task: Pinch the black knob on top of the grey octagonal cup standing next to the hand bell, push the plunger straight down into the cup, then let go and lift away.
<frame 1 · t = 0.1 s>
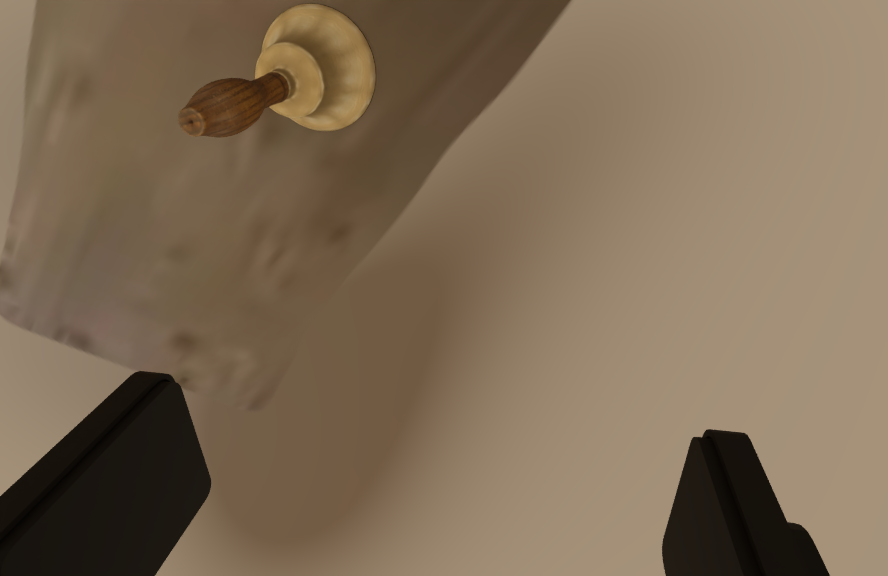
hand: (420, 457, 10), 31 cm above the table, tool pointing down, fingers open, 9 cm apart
hand bell: (320, 70, 38), on the table
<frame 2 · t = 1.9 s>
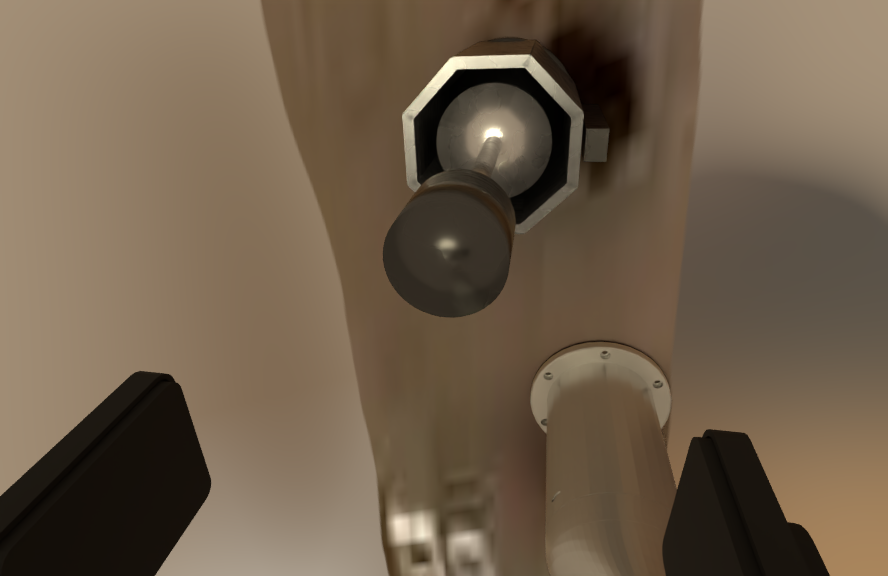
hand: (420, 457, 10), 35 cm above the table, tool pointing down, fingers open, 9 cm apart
grey octagonal cup: (506, 111, 40), on the table
plunger: (476, 184, 24), point 18 cm above the table, slide at 0.0 cm
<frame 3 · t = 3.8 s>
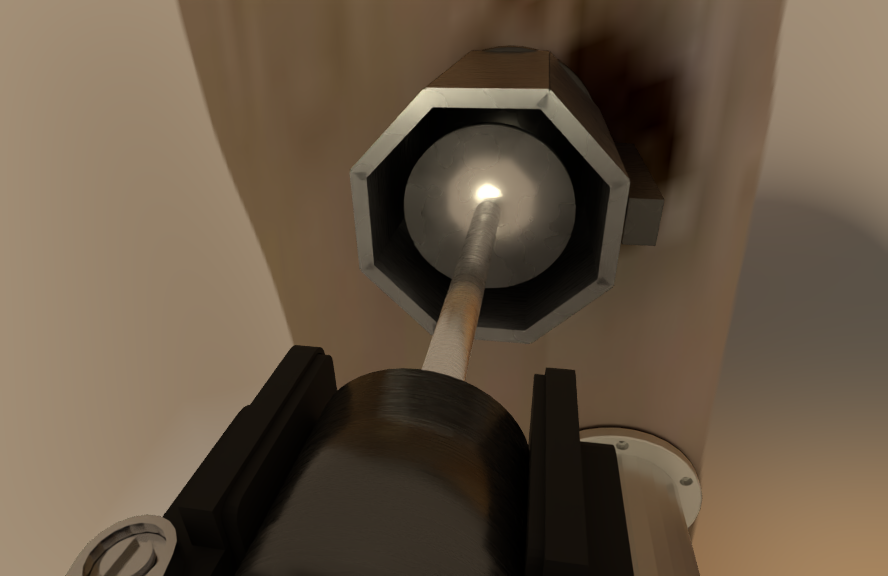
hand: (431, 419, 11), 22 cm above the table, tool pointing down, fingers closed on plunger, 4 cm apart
grey octagonal cup: (506, 143, 30), on the table
plunger: (458, 318, 14), point 18 cm above the table, slide at 0.0 cm, touching gripper
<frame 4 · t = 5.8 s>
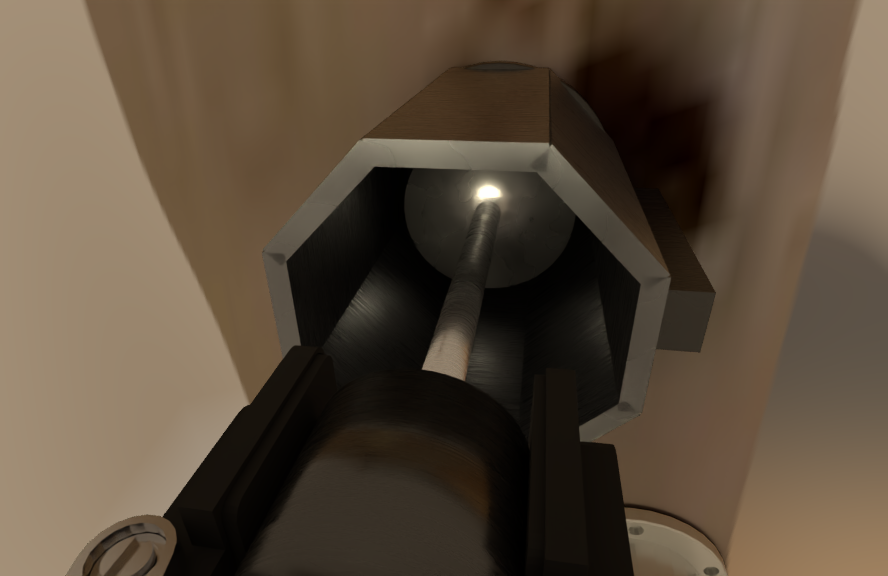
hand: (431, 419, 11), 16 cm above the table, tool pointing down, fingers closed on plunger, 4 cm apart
grey octagonal cup: (496, 181, 24), on the table
plunger: (458, 318, 14), point 12 cm above the table, slide at 6.8 cm, touching gripper
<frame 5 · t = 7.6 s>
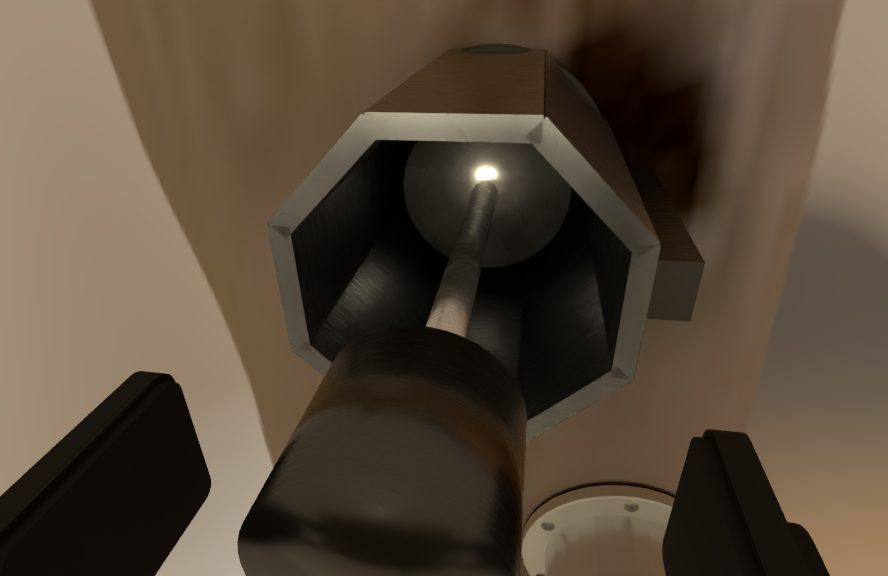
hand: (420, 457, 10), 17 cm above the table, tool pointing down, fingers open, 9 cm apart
grey octagonal cup: (493, 163, 24), on the table
plunger: (457, 289, 15), point 12 cm above the table, slide at 6.8 cm
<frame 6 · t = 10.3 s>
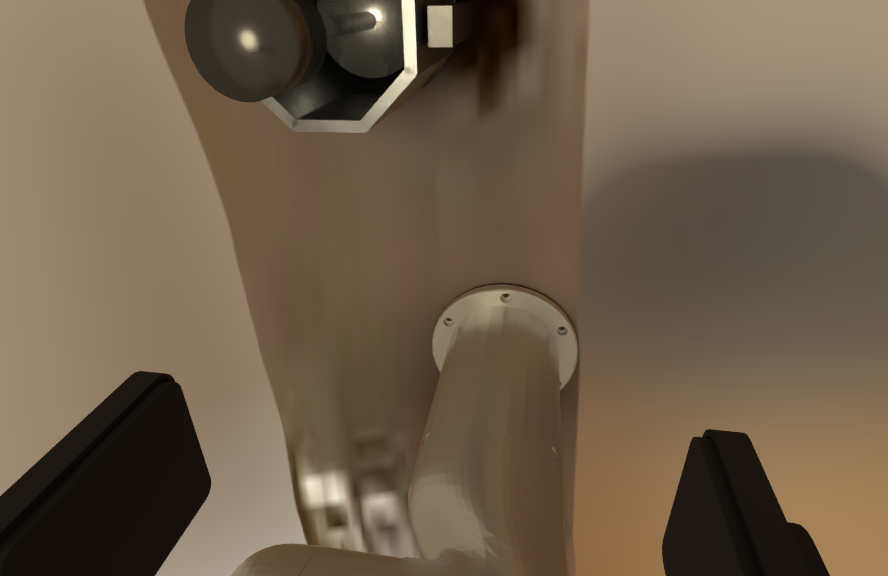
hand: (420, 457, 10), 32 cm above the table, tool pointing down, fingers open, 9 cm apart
grey octagonal cup: (385, 17, 36), on the table
plunger: (322, 28, 26), point 12 cm above the table, slide at 6.8 cm
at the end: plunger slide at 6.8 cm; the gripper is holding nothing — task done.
